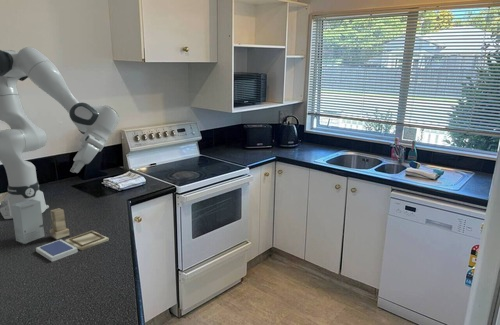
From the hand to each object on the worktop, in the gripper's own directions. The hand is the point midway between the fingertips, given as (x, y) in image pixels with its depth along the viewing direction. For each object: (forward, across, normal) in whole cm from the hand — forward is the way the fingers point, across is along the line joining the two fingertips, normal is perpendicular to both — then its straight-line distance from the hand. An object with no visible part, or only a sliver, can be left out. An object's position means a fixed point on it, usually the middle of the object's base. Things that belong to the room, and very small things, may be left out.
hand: (73, 172), depth 147 cm
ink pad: (+28, +11, +8) cm, 31 cm away
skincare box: (+30, -7, +1) cm, 30 cm away
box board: (+21, +7, +17) cm, 28 cm away
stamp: (+24, -2, +9) cm, 26 cm away
